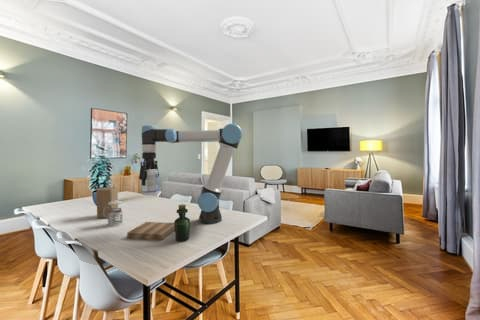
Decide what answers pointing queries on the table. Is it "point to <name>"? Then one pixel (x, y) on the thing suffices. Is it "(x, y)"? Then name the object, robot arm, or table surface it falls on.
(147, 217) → the table surface
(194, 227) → the table surface
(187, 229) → the potion bottle
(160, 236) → the walnut base
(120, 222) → the french press
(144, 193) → the supplement tub
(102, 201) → the block
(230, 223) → the table surface
